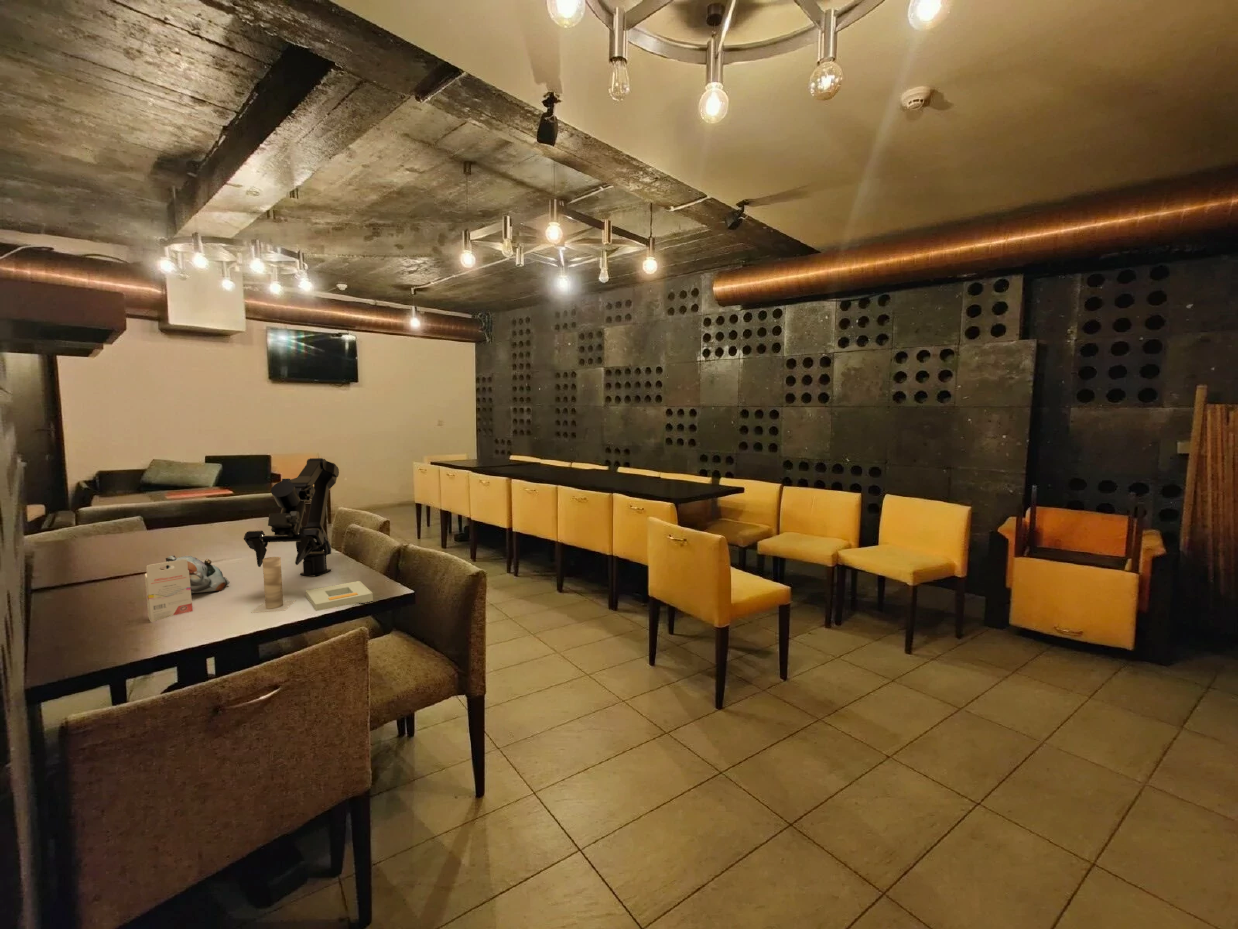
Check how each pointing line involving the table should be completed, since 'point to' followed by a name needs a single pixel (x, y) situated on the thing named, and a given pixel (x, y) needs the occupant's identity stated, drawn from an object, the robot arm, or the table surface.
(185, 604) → the ink cartridge box
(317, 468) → the robot arm
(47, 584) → the table surface
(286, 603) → the tab
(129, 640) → the table surface
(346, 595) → the socket block
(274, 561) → the birch peg
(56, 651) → the table surface
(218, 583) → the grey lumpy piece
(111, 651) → the table surface
